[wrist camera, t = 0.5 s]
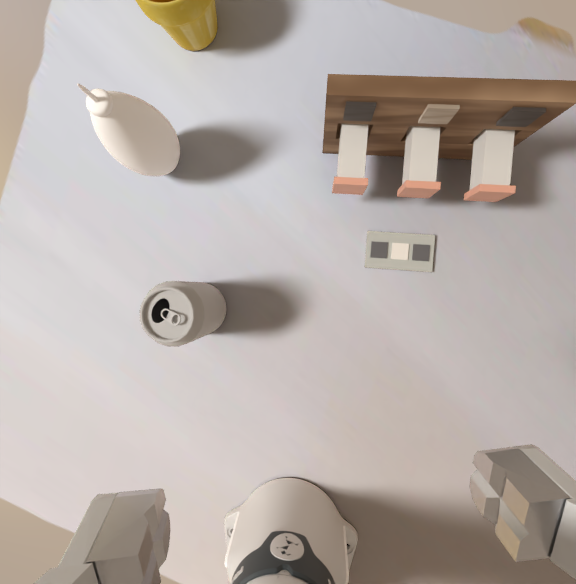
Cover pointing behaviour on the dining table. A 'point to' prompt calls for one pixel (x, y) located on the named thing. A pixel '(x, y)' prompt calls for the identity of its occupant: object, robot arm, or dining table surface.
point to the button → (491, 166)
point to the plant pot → (184, 20)
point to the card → (399, 251)
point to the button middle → (420, 162)
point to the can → (181, 312)
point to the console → (440, 109)
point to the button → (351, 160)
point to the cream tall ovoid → (133, 132)
